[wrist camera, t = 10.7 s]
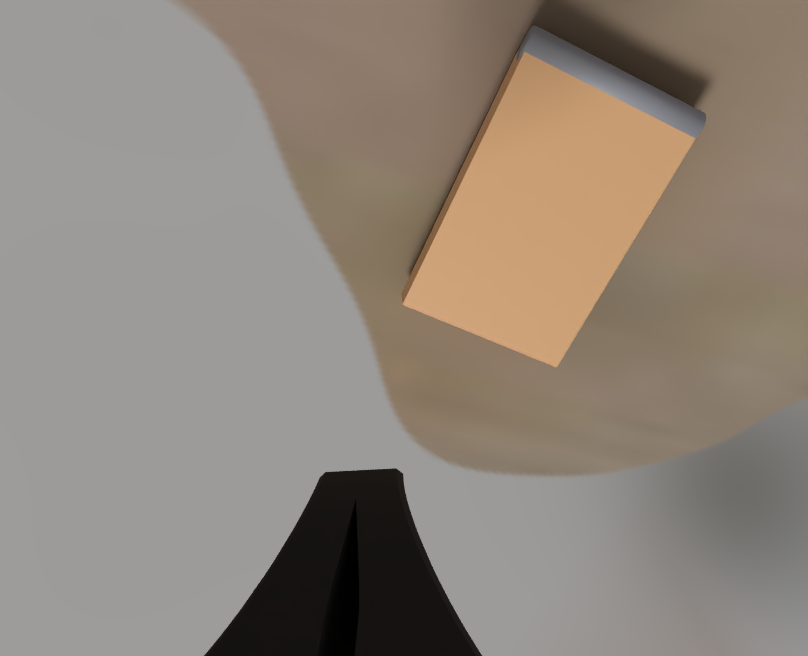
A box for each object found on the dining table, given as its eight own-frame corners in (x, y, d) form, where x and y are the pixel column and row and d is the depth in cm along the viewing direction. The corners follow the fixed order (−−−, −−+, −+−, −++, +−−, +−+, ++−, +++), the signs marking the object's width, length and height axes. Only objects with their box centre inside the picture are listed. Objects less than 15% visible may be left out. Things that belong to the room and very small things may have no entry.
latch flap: (401, 292, 19) (402, 305, 19) (529, 24, 17) (537, 24, 16) (549, 353, 20) (556, 368, 19) (694, 110, 17) (710, 114, 17)
